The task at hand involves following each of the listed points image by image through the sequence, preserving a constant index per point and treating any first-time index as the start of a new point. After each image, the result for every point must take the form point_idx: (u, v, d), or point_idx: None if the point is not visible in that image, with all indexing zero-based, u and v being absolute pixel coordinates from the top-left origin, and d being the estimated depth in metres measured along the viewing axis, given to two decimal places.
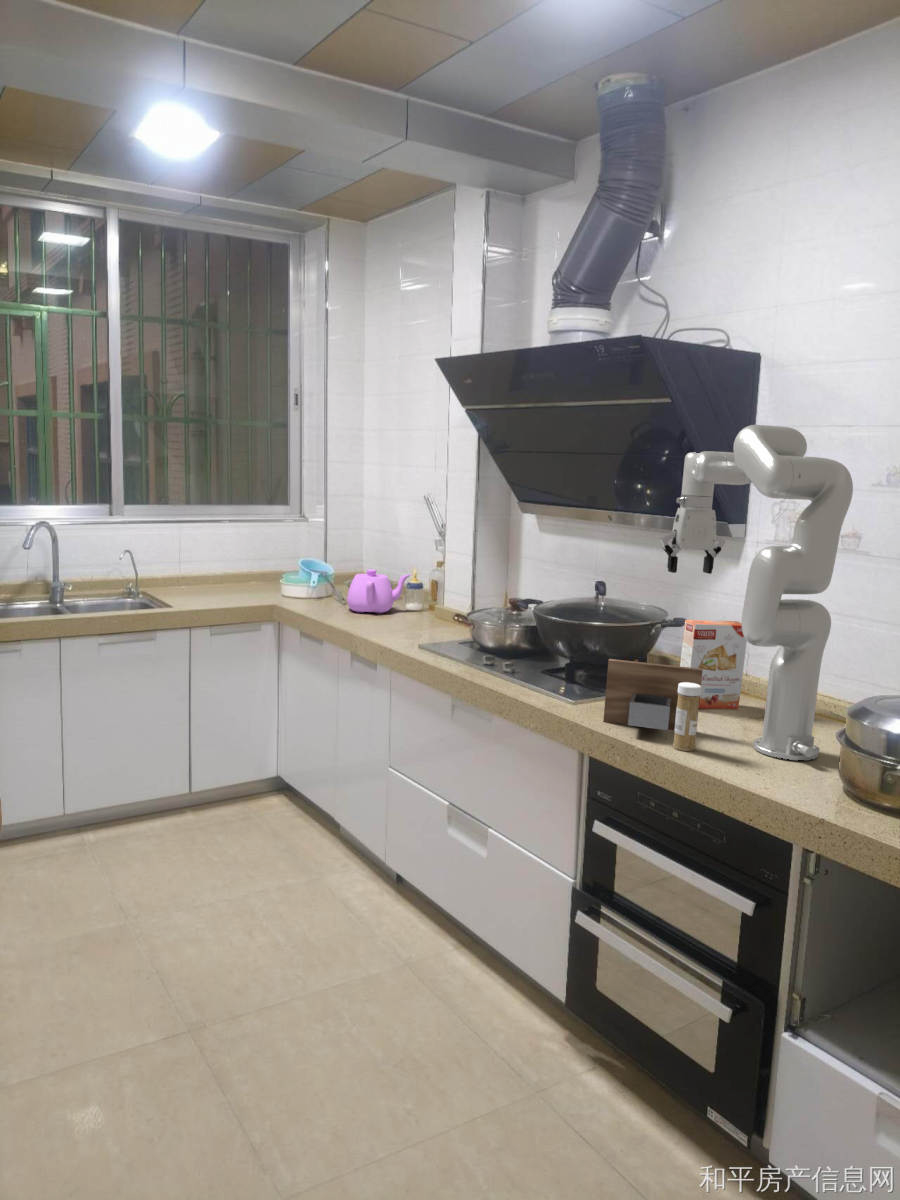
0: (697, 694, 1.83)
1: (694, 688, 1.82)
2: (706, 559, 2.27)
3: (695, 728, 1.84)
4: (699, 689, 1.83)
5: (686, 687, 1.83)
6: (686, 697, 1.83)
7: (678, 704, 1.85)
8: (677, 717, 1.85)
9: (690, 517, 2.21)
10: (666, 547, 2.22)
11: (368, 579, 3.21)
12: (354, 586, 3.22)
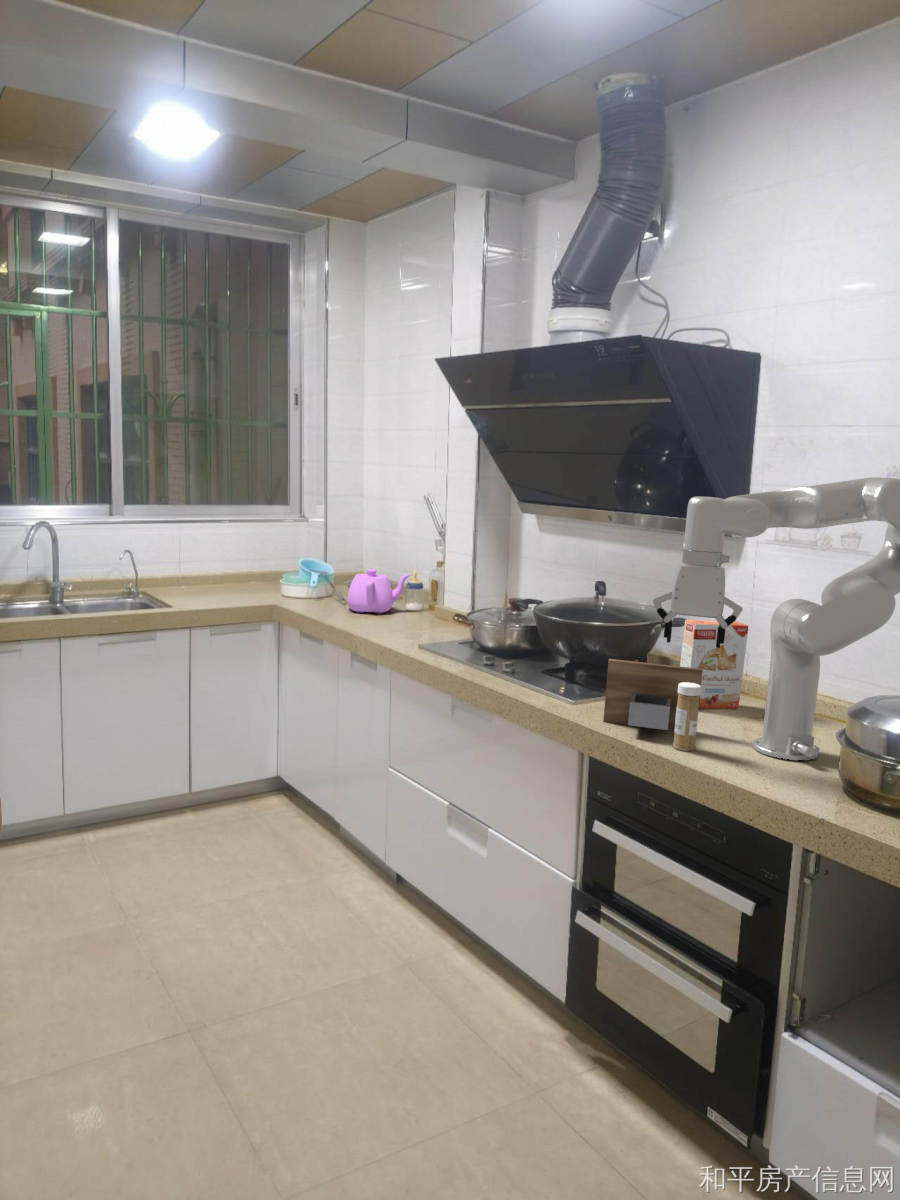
0: (697, 694, 1.83)
1: (694, 688, 1.82)
2: None
3: (695, 728, 1.84)
4: (699, 689, 1.83)
5: (686, 687, 1.83)
6: (686, 697, 1.83)
7: (678, 704, 1.85)
8: (677, 717, 1.85)
9: None
10: None
11: (368, 579, 3.21)
12: (354, 586, 3.22)
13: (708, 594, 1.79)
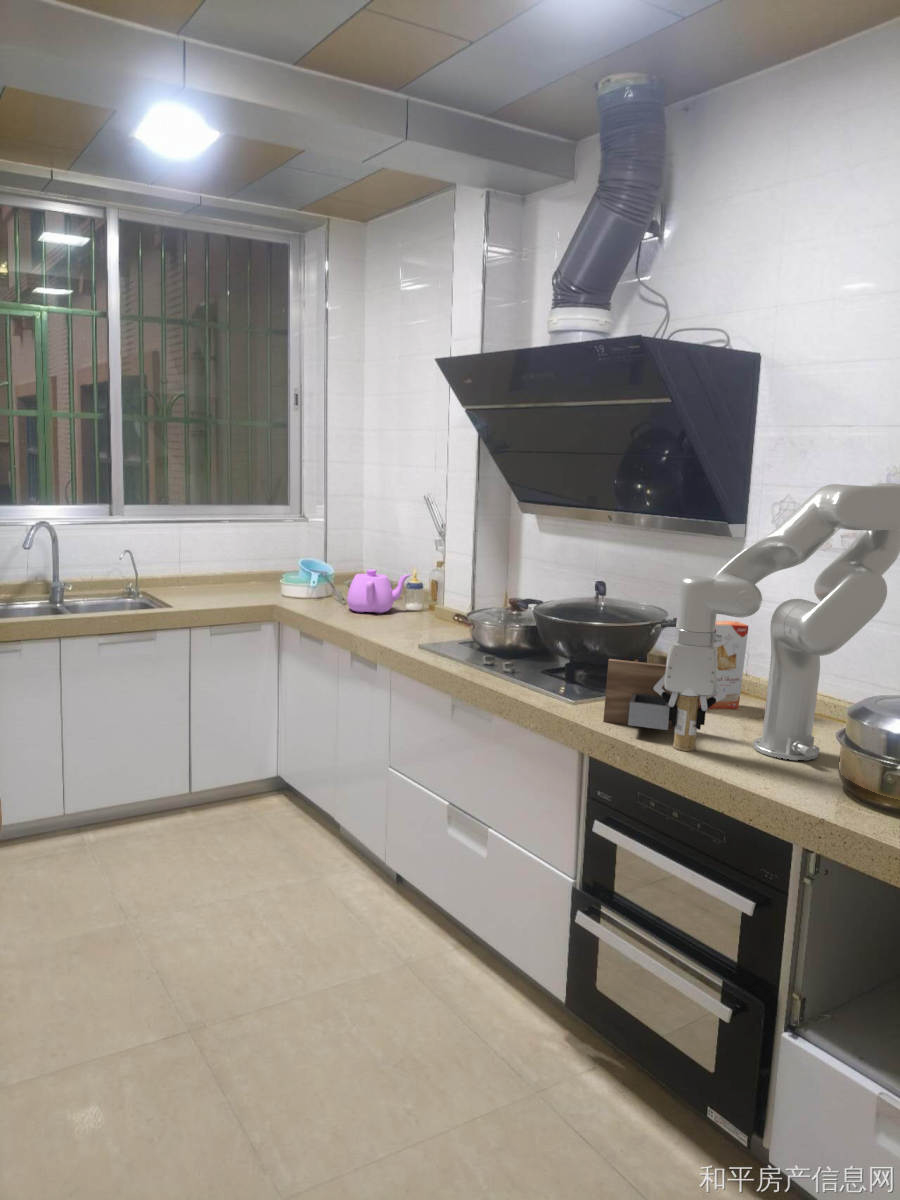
0: None
1: None
2: (676, 709, 1.85)
3: (695, 728, 1.84)
4: None
5: None
6: (686, 697, 1.83)
7: (678, 704, 1.85)
8: (677, 717, 1.85)
9: None
10: None
11: (368, 579, 3.21)
12: (354, 586, 3.22)
13: (701, 673, 1.81)
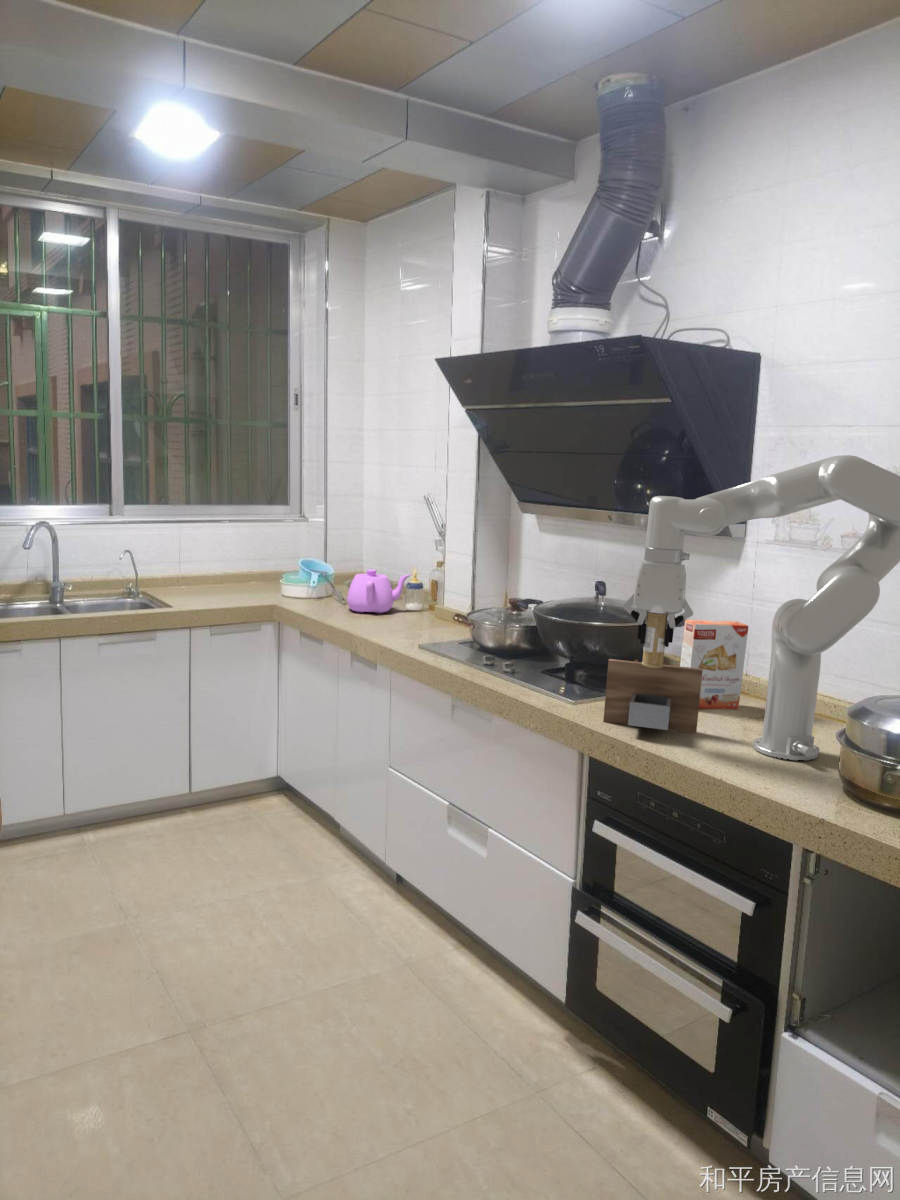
0: None
1: None
2: None
3: (663, 645, 1.88)
4: None
5: None
6: (654, 614, 1.86)
7: (647, 622, 1.88)
8: (646, 635, 1.88)
9: None
10: None
11: (368, 579, 3.21)
12: (354, 586, 3.22)
13: (669, 590, 1.85)
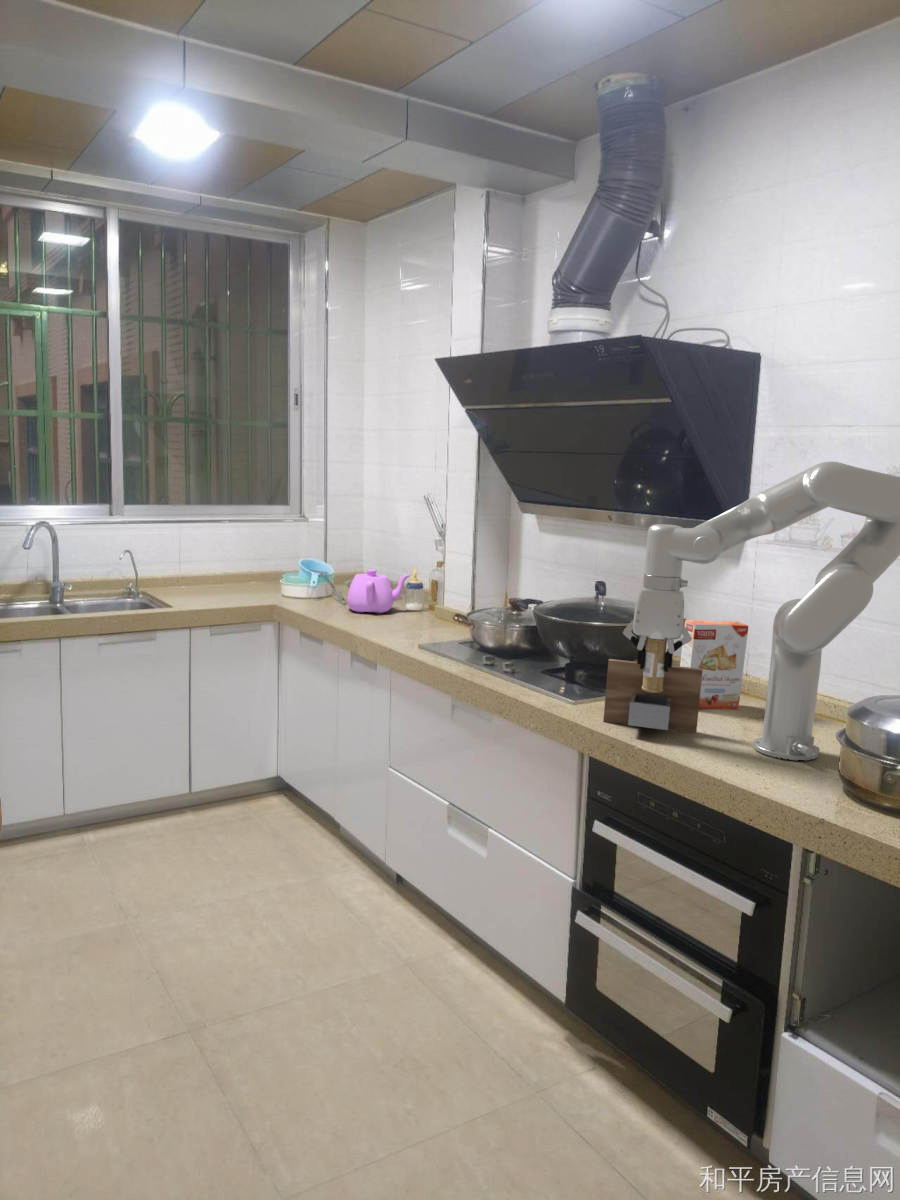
0: None
1: None
2: None
3: (663, 671, 1.91)
4: None
5: (654, 631, 1.90)
6: (654, 640, 1.90)
7: (646, 648, 1.92)
8: (645, 660, 1.92)
9: None
10: None
11: (368, 579, 3.21)
12: (354, 586, 3.22)
13: (667, 617, 1.88)
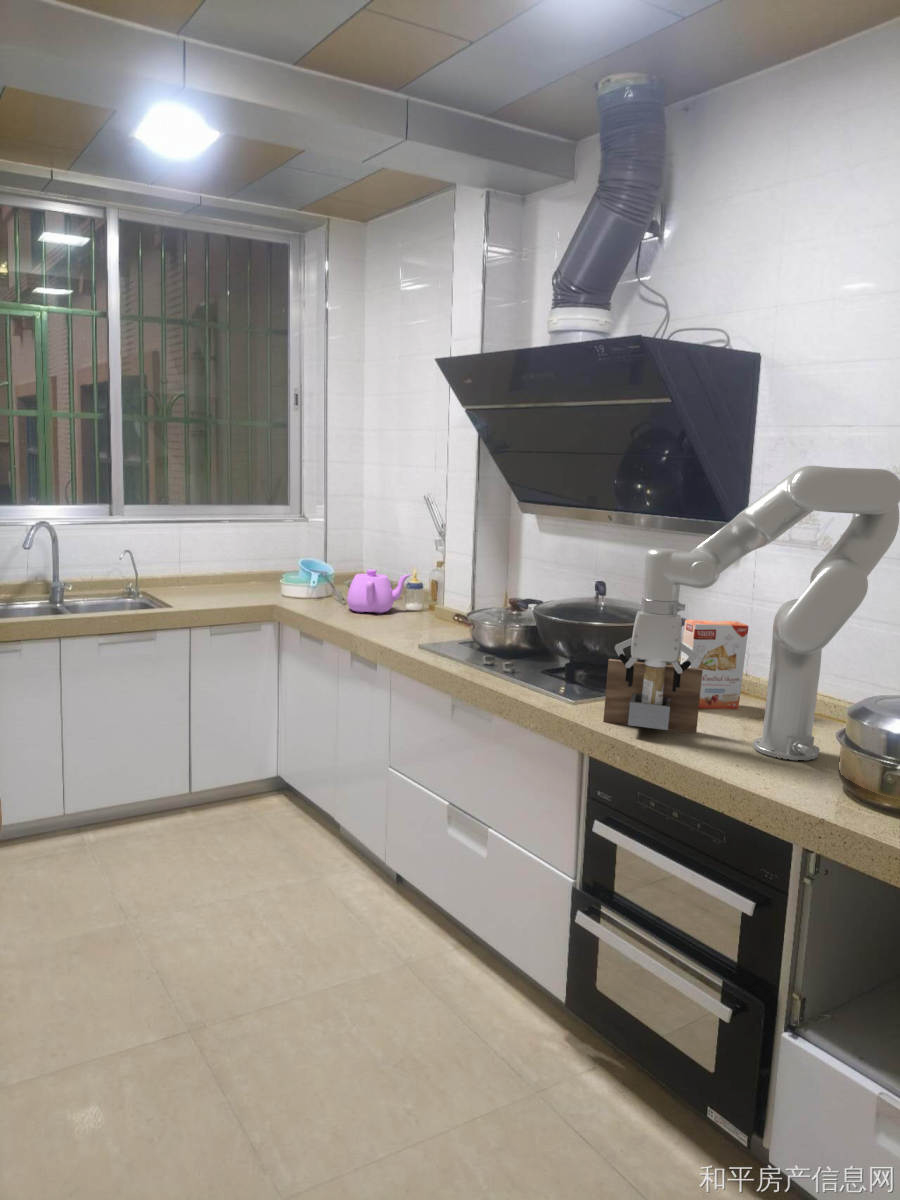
0: (663, 665, 1.91)
1: None
2: (633, 670, 1.94)
3: (661, 698, 1.92)
4: None
5: (652, 659, 1.91)
6: (652, 668, 1.91)
7: (645, 675, 1.93)
8: (644, 688, 1.93)
9: None
10: None
11: (368, 579, 3.21)
12: (354, 586, 3.22)
13: (665, 641, 1.89)
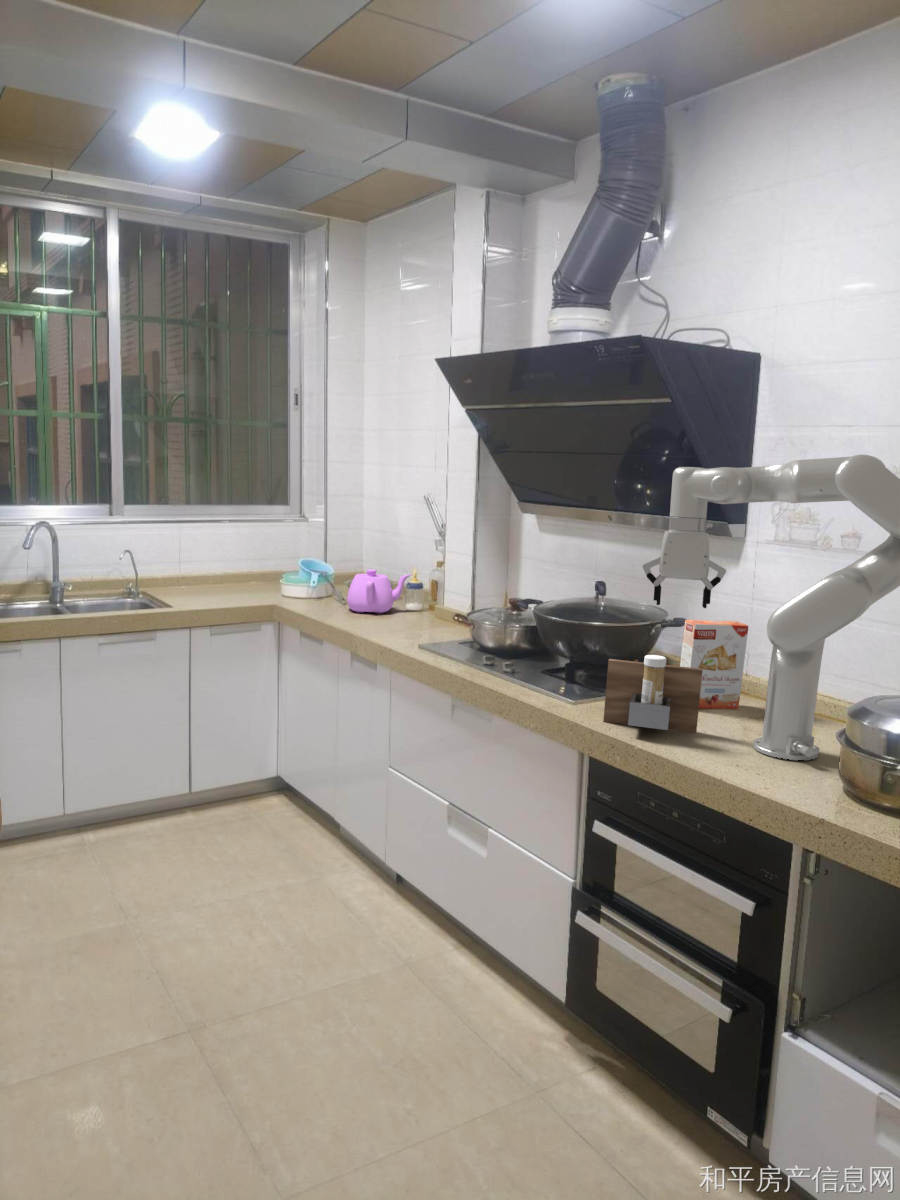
0: (662, 665, 1.91)
1: (659, 660, 1.90)
2: None
3: (661, 698, 1.92)
4: (664, 661, 1.91)
5: (651, 659, 1.91)
6: (652, 668, 1.91)
7: (644, 675, 1.93)
8: (643, 688, 1.93)
9: None
10: None
11: (368, 579, 3.21)
12: (354, 586, 3.22)
13: (694, 558, 1.91)
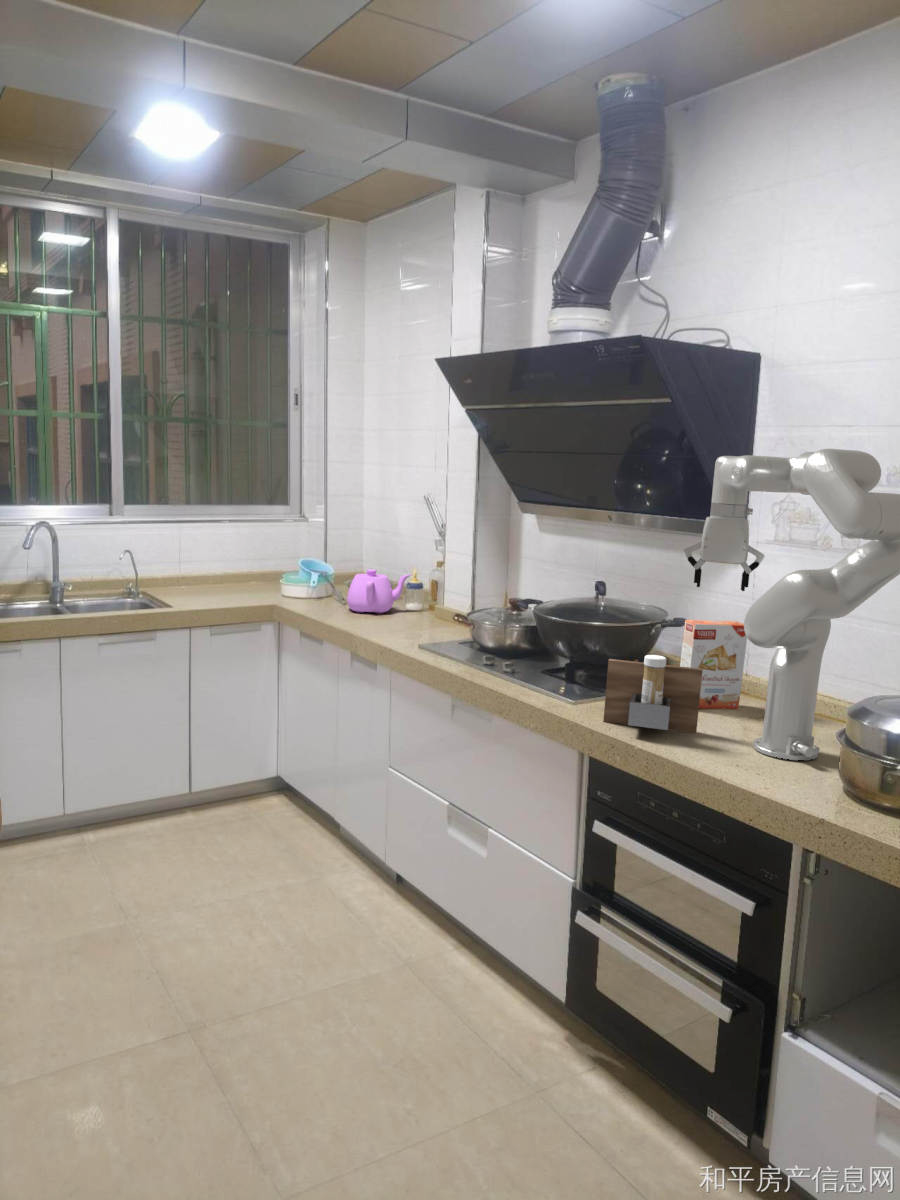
0: (662, 666, 1.91)
1: (659, 660, 1.90)
2: None
3: (661, 698, 1.92)
4: (664, 661, 1.91)
5: (652, 659, 1.91)
6: (652, 668, 1.91)
7: (644, 675, 1.93)
8: (643, 688, 1.93)
9: None
10: None
11: (368, 579, 3.21)
12: (354, 586, 3.22)
13: (734, 542, 2.01)
